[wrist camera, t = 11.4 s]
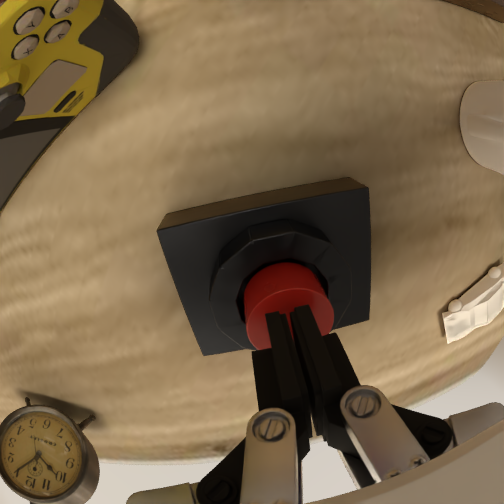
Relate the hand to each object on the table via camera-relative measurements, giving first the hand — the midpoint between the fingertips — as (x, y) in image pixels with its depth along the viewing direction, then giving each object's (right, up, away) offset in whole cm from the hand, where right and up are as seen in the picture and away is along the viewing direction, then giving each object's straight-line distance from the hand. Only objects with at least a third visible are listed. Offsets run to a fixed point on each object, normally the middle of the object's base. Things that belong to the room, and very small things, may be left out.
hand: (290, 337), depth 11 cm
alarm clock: (-21, -14, +12) cm, 28 cm away
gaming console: (-17, +7, +2) cm, 19 cm away
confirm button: (0, +1, +3) cm, 3 cm away
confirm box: (0, +3, +6) cm, 6 cm away
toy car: (+18, -1, +9) cm, 20 cm away
